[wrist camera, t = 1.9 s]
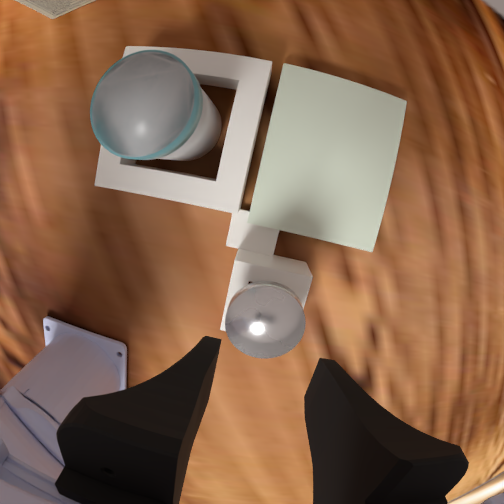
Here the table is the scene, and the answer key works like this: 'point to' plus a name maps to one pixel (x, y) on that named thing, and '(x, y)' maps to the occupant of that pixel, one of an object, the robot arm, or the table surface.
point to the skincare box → (54, 6)
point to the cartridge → (153, 109)
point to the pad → (327, 158)
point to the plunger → (265, 319)
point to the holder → (219, 172)
